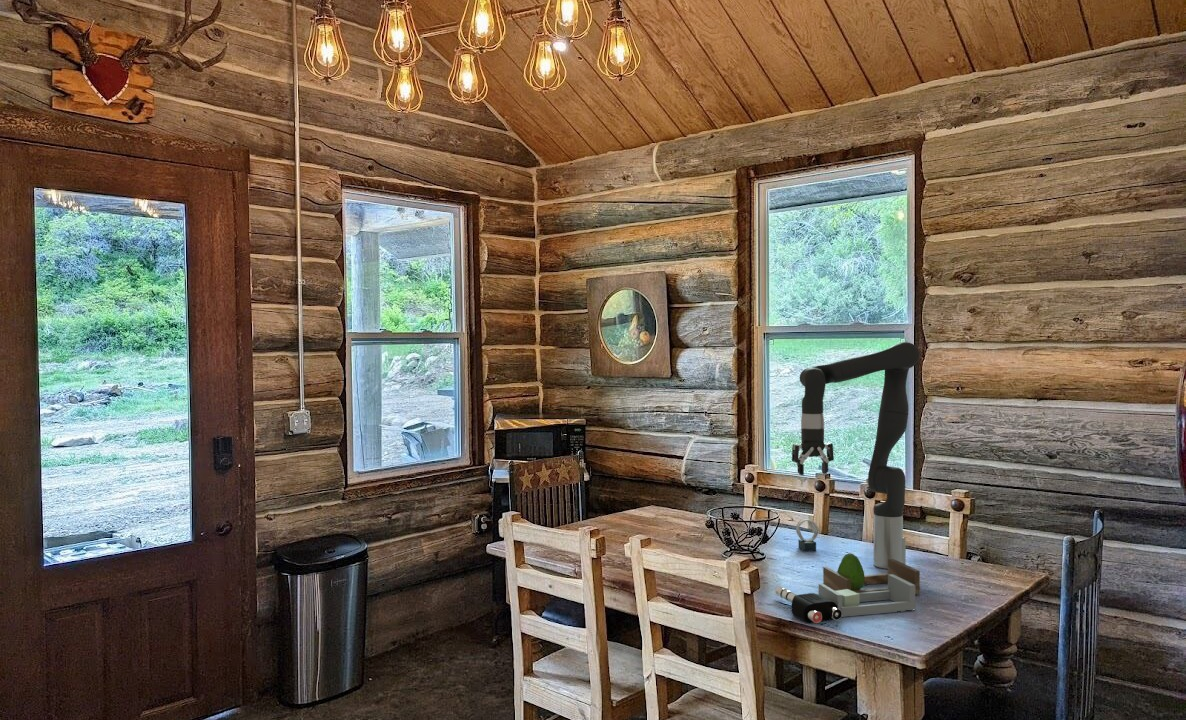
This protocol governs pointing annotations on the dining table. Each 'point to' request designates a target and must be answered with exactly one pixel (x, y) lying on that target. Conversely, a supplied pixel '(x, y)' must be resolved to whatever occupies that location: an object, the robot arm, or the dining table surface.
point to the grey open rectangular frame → (876, 598)
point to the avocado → (852, 571)
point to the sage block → (849, 598)
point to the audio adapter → (810, 606)
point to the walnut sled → (873, 577)
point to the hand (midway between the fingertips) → (812, 474)
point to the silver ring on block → (807, 544)
